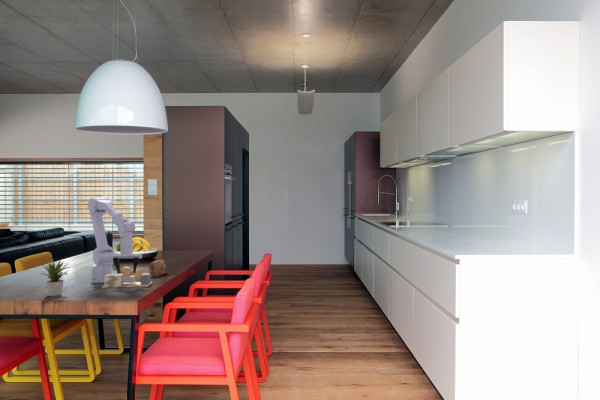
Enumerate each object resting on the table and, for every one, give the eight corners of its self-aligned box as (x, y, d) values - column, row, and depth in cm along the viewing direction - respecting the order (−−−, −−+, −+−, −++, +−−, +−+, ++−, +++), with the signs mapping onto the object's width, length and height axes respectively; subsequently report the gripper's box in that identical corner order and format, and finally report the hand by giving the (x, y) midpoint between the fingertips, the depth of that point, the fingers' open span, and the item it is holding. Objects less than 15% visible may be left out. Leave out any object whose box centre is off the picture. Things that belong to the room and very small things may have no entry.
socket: (140, 284, 235) (140, 275, 235) (143, 282, 241) (143, 273, 241) (148, 284, 235) (148, 274, 235) (150, 282, 241) (150, 273, 241)
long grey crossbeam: (104, 283, 234) (104, 268, 234) (106, 282, 237) (106, 267, 237) (134, 282, 236) (134, 267, 236) (135, 281, 239) (135, 266, 239)
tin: (153, 277, 260) (153, 262, 260) (148, 277, 261) (148, 262, 261) (166, 273, 275) (166, 258, 275) (161, 272, 275) (161, 258, 275)
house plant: (67, 297, 207) (67, 260, 207) (33, 299, 204) (32, 261, 204) (76, 291, 221) (75, 256, 221) (43, 292, 218) (43, 257, 218)
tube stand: (101, 287, 230) (101, 276, 230) (107, 283, 240) (107, 273, 240) (148, 286, 233) (148, 275, 233) (152, 282, 243) (152, 272, 243)
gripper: (109, 246, 232) (109, 274, 232) (139, 246, 233) (139, 273, 234) (113, 245, 239) (113, 272, 239) (142, 244, 240) (142, 271, 241)
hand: (126, 272), depth 237 cm, fingers open, 7 cm apart
